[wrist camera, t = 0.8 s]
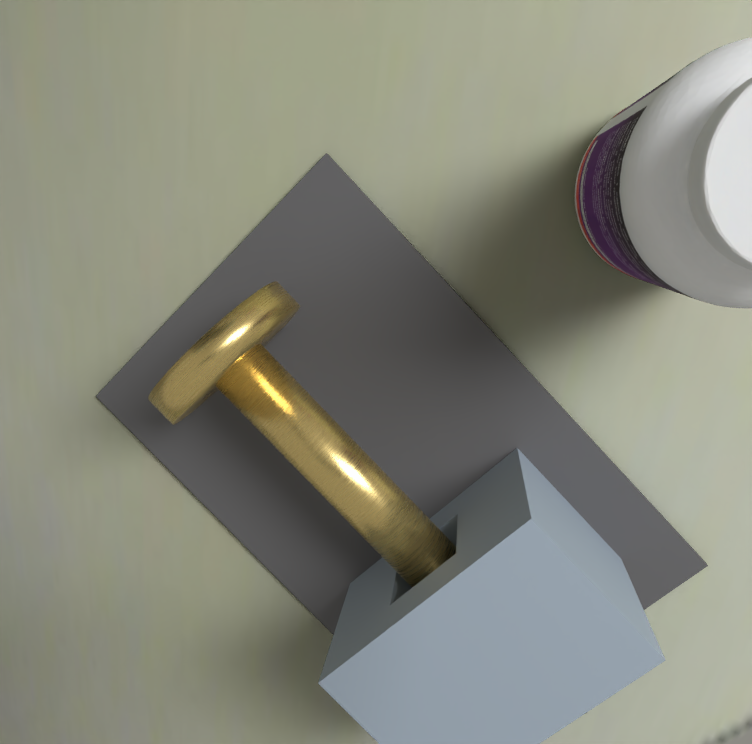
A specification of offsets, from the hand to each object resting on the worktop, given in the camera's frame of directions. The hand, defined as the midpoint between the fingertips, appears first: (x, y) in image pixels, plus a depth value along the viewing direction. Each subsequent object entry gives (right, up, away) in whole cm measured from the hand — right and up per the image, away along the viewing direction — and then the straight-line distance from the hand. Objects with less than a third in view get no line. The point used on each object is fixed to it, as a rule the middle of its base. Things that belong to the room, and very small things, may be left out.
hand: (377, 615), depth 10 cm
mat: (+1, -2, +26) cm, 26 cm away
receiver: (+6, -7, +26) cm, 27 cm away
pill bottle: (+13, +12, +21) cm, 27 cm away
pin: (-1, -1, +25) cm, 25 cm away
